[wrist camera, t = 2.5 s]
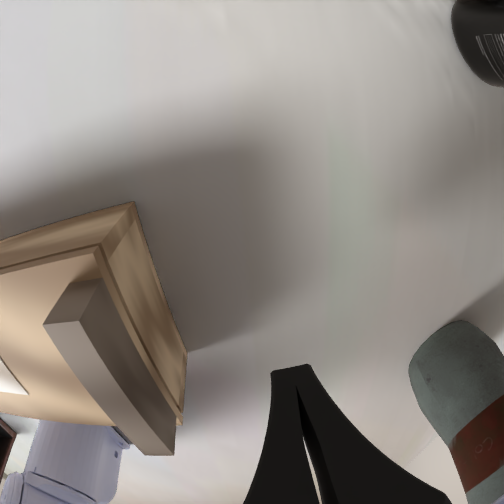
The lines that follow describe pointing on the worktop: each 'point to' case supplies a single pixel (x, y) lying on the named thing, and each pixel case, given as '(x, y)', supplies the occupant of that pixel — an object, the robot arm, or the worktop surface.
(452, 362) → the vodka
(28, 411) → the mailer lid
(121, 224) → the box
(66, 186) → the worktop surface
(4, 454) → the letter holder
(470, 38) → the supplement bottle
